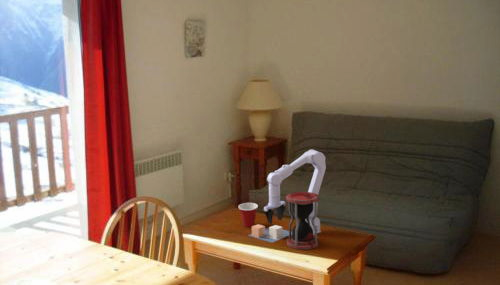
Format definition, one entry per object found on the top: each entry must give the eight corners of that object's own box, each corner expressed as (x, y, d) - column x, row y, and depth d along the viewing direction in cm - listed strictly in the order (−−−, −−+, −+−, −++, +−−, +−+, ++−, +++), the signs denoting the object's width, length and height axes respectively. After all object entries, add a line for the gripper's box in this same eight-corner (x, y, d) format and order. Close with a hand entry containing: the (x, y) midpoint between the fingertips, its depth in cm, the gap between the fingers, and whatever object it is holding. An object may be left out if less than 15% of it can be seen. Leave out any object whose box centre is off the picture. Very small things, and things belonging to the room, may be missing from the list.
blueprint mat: (295, 233, 296) (295, 232, 296) (271, 243, 283) (271, 242, 283) (271, 226, 308) (271, 226, 308) (247, 235, 294) (247, 235, 294)
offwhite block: (282, 236, 292) (282, 226, 291) (276, 238, 288) (276, 229, 287) (275, 234, 295) (275, 225, 294) (269, 236, 292) (269, 227, 291)
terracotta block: (265, 235, 294) (265, 226, 293) (258, 237, 290) (258, 228, 289) (258, 233, 297) (258, 224, 296) (251, 235, 294) (251, 226, 293)
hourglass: (310, 251, 270) (310, 201, 266) (281, 246, 278) (280, 197, 274) (324, 241, 283) (324, 193, 279) (295, 236, 292) (295, 190, 287)
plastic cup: (236, 228, 306) (236, 207, 304) (241, 222, 316) (241, 202, 314) (255, 230, 303) (255, 208, 301) (260, 223, 314) (259, 203, 312)
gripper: (277, 191, 296) (278, 216, 298) (259, 197, 286) (259, 223, 288) (288, 194, 291) (288, 219, 293) (269, 200, 281) (269, 225, 283)
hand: (274, 221), depth 290 cm, fingers open, 7 cm apart
